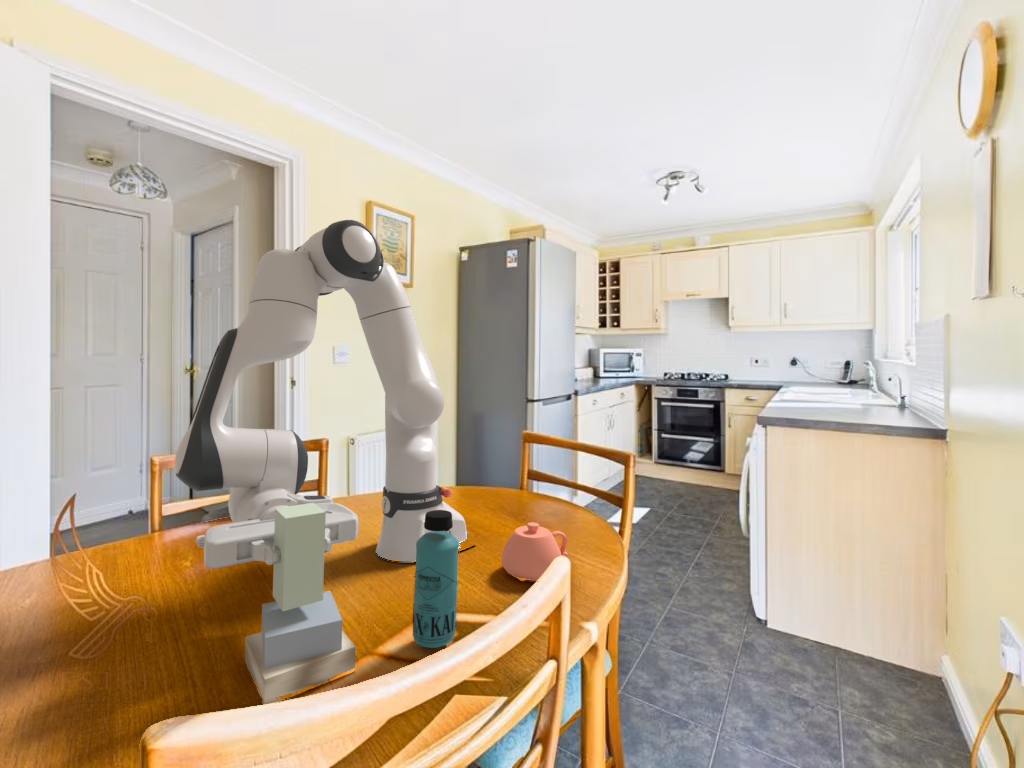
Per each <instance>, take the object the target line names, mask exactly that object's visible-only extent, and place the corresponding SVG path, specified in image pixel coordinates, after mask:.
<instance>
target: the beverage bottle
mask: <svg viewBox="0 0 1024 768" xmlns="http://www.w3.org/2000/svg"><path fill="white" fill-rule="evenodd" d="M452 527H453V522H452V513H451V512H449V511H446V510H433V511H429V512H427V513H426V515H425V522H424V528H425V529H427V530H430V531H431V532H427V533H425V534H424V535H423V536H421V537H420V538H419V539H418V540H417V542H416V563H415V570H414V573H413V575H414V581H413V582H414V586H413V592H412V593H413V595H412V596H413V597H412V598H413V599H412V602H413V604H412V620H411V621H412V623H411V624H412V625H411V627H412V630H411V632H412V637H413V641H414V642H415V643H416V644H417V645H419V646H421V647H424V648H433V649H434V648H440V647H444V646H446V645H448V644H450V643H451V642H452V640H454V637H455V634H456V630H457V620H458V616H457V604H458V599H459V598H457V597H458V594H459V593H458V585H459V583H458V566H459V560H458V559H459V553H458V547H459V542H458V540H457V539H456V538H455V537H454V536H453V535H452V534H451V533H449V532H445V531H446V530H449V529H451V528H452Z"/></svg>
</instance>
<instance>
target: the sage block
mask: <svg viewBox="0 0 1024 768" xmlns="http://www.w3.org/2000/svg"><path fill="white" fill-rule="evenodd" d="M325 519H326V512H325V511H324V510H322V509H321V508H320V507H319V506H317V505H316V504H315V503H308V504H301V505H294V506H288V507H281V508H275V530H274V546H278V547H279V548H280V550H281V556H280V558H281V561H280V562H279V563H275V564H273V572H272V576H273V577H272V598H274V600H275V602H277V603H278V605H279V606H280V608H281V610H282V611H286V610H290V609H294V608H297V607H301V606H304V605H308V604H311V603H315V602H319V601H322V600H323V592H324V576H325V571H324V570H325V553H324V550H325Z"/></svg>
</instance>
